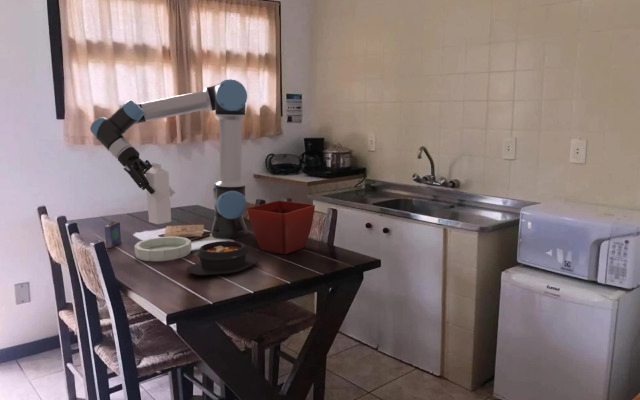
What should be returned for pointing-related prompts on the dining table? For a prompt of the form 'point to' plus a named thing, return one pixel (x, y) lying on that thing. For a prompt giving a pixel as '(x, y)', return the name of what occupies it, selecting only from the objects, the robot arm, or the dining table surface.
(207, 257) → the casserole
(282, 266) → the dining table surface
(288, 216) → the plant pot
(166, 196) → the milk
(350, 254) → the dining table surface
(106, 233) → the flask
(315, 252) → the dining table surface
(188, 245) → the bowl
